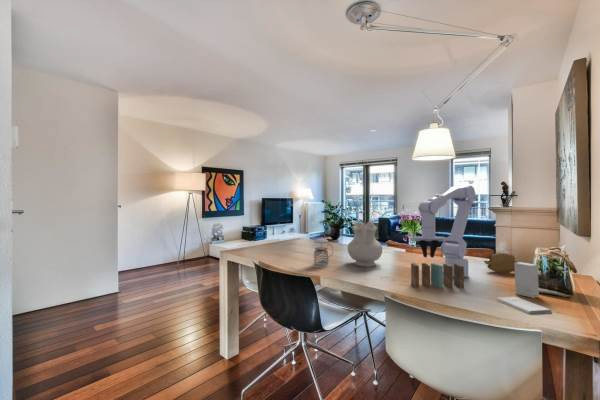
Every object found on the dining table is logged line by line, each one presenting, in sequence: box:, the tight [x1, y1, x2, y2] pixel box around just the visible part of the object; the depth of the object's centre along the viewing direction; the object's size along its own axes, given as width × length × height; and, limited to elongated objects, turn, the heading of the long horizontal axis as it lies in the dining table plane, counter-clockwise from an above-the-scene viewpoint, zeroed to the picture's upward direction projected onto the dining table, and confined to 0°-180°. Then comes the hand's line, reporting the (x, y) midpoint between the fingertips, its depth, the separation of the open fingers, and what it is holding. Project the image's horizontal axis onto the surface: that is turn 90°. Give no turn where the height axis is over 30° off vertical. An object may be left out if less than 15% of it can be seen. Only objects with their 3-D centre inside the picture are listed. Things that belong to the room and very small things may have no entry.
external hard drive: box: [496, 296, 552, 315], centre depth 96 cm, size 2×8×12 cm
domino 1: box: [410, 262, 420, 288], centre depth 119 cm, size 2×5×9 cm, turn 176°
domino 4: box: [442, 263, 454, 289], centre depth 118 cm, size 2×5×9 cm, turn 176°
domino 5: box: [453, 264, 465, 289], centre depth 118 cm, size 2×5×9 cm, turn 176°
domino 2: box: [421, 262, 431, 289], centre depth 119 cm, size 2×5×9 cm, turn 176°
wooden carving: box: [483, 252, 518, 274], centre depth 140 cm, size 16×5×10 cm, turn 80°
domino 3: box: [430, 262, 444, 289], centre depth 119 cm, size 2×5×9 cm, turn 16°
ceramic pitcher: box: [347, 220, 383, 268], centre depth 158 cm, size 22×20×25 cm
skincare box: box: [514, 261, 540, 299], centre depth 106 cm, size 6×4×12 cm
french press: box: [312, 220, 334, 269], centre depth 156 cm, size 10×12×25 cm
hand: (428, 257), depth 128 cm, fingers open, 2 cm apart
